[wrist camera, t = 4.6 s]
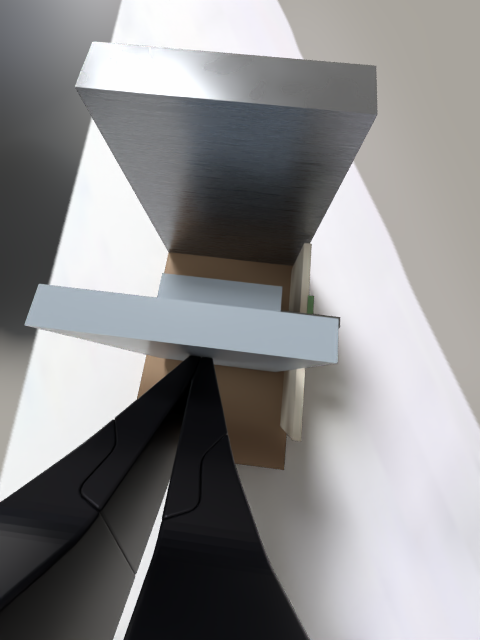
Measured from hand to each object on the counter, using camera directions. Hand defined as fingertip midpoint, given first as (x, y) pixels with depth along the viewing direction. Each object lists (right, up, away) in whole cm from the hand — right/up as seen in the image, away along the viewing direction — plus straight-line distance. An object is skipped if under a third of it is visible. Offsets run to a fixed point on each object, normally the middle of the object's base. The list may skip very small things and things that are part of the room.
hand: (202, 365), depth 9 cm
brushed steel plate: (+1, +7, +8) cm, 10 cm away
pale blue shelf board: (+1, +1, +6) cm, 6 cm away
